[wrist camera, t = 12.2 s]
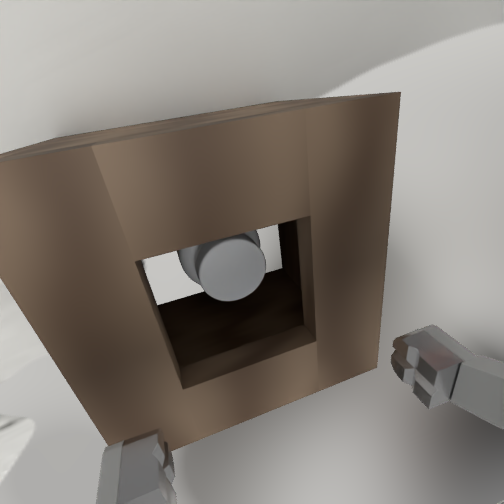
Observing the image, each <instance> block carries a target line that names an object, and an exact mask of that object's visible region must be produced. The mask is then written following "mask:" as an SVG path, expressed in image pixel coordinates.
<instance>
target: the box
mask: <svg viewBox="0 0 504 504" xmlns="http://www.w3.org/2000/svg"><path fill="white" fill-rule="evenodd" d="M400 96H401V92H392V93H379V94H368V95H367V94H366V95H354V96H340V97H327V98H314V99H301V100H289V101H276V102H270V103H264V104H258V105H252V106H246V107H240V108H234V109H228V110H222V111H216V112H210V113H204V114H198V115H192V116H186V117H180V118H174V119H168V120H162V121H156V122H150V123H144V124H138V125H132V126H126V127H119V128H113V129H107V130H101V131H95V132H89V133H83V134H77V135H71V136H65V137H59V138H54V139H50V140H47V141H44V142H40V143H37V144H33V145H30V146H26V147H23V148H20V149H16V150H13V151H9V152H6V153H3V154H0V278H1V280H2V281H3V283H4V284H5V286H6V287H7V289H8V290H9V292H10V294H11V295H12V297H13V298H14V300H15V301H16V303H17V304H18V306H19V308H20V309H21V311H22V312H23V314H24V315H25V317H26V318H27V320H28V322H29V323H30V325H31V326H32V328H33V329H34V331H35V332H36V334H37V336H38V337H39V339H40V340H41V342H42V343H43V345H44V346H45V348H46V350H47V351H48V353H49V354H50V356H51V357H52V359H53V360H54V362H55V363H56V365H57V367H58V368H59V370H60V371H61V373H62V375H63V376H64V378H65V379H66V381H67V382H68V384H69V385H70V387H71V389H72V390H73V392H74V393H75V394H76V396H77V398H78V399H79V401H80V403H81V404H82V405H83V407H84V409H85V410H86V412H87V413H88V415H89V417H90V418H91V420H92V421H93V423H94V424H95V426H96V427H97V429H98V431H99V432H100V434H101V435H102V437H103V438H104V440H105V441H106V443H107V444H108V446H110V445H113V444H115V443H118V442H121V441H123V440H127V439H130V438H132V437H135V436H138V435H141V434H143V433H146V432H149V431H152V430H155V429H157V428H161V430H162V432H163V434H164V441H165V442H168V444H169V446H170V449H171V451H173V450H175V449H178V448H180V447H183V446H185V445H188V444H190V443H193V442H195V441H198V440H200V439H202V438H205V437H207V436H210V435H212V434H215V433H217V432H220V431H222V430H225V429H227V428H230V427H232V426H234V425H237V424H239V423H242V422H244V421H247V420H249V419H252V418H254V417H257V416H259V415H262V414H264V413H266V412H269V411H271V410H274V409H276V408H279V407H281V406H283V405H286V404H289V403H291V402H293V401H296V400H298V399H301V398H303V397H305V396H308V395H311V394H313V393H316V392H318V391H321V390H323V389H325V388H328V387H330V386H333V385H335V384H338V383H340V382H342V381H345V380H347V379H350V378H353V377H355V376H357V375H360V374H362V373H365V372H367V371H370V370H372V369H374V368H377V362H378V350H379V338H380V327H381V315H382V303H383V292H384V281H385V269H386V257H387V246H388V235H389V223H390V212H391V200H392V188H393V177H394V165H395V154H396V142H397V130H398V119H399V108H400ZM276 224H278V230H279V238H280V239H279V240H280V249H281V258H282V268H281V269H278V270H275V271H271V272H268V273H265V274H264V277H263V279H262V281H261V283H260V284H259V286H258V287H257V288H256V289H255V290H254V291H253V292H252V293H250V294H249V295H247V296H246V297H244V298H241V299H238V300H234V301H221V300H218V299H215V298H213V297H211V296H209V295H208V294H207V293H206V292H205V291H204V292H201V293H197V294H194V295H191V296H187V297H184V298H181V299H177V300H174V301H171V302H168V303H164V304H160V305H157V303H156V301H155V298H154V295H153V292H152V290H151V287H150V284H149V281H148V279H147V276H146V273H145V270H144V268H143V265H142V262H141V260H143V259H146V258H150V257H154V256H158V255H162V254H165V253H169V252H173V251H177V250H181V249H185V248H188V247H192V246H196V245H200V244H204V243H207V242H211V241H215V240H219V239H223V238H226V237H230V236H234V235H238V234H242V233H246V232H249V231H253V230H257V229H261V228H265V227H268V226H272V225H276Z"/></svg>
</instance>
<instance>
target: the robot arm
mask: <svg viewBox="0 0 504 504" xmlns="http://www.w3.org/2000/svg"><path fill="white" fill-rule="evenodd" d="M393 347H394V348H395V349H396V350H395V351H394V353H393V354H392V355H391V364H392V367H393V370H394V371H395V373H396V374H397V376H398V377H399V378H400V379H401V380H402V381H403V382H405V383H407V384H409V385H411V386H412V390H413V393H414V394H415V395H416V396H417V398H419V400H420V401H421V402H422V403H423V404H424V405H425V406H426V407H427V408H428V409H431V408H433V407H435V406H438V405H440V404H443V403H445V402H448V401H450V400H451V401H450V402H451V403H453V404H455V405H457V406H459V407H461V408H462V409H465V410H466V411H468V412H470V413H472V414H474V415H476V416H478V417H480V418H482V419H483V420H485V421H487V422H489V423H491V424H493V425H495V426H497V427H499V428H501V429H503V430H504V362H502V361H499V360H495V359H492V358H489V357H486V356H483V355H479V356H477V355H475V354H474V353H472V352H471V351H470V350H468V349H467V348H466V347H464V346H463V345H462V344H460V343H459V342H458V341H456V340H455V339H454V338H452V337H451V336H450V335H448V334H447V333H446V332H444V331H443V330H442V329H440V328H439V327H438V326H435V325H429V326H426V327H424V328H422V329H419V330H415V331H413V332H410V333H408V334H405V335H403V336H400V337H397V338H396V339H395V340H394V341H393ZM174 477H175V471H174V462H173V457H172V452H171V449H170V446H169V444H168V442H165V441H164V434H163V432H162V430H161V428H157V429H155V430H152V431H149V432H146V433H143V434H141V435H138V436H135V437H132V438H130V439H127V440H123V441H121V442H118V443H115V444H113V445H110V446H107V447H106V448H105V450H104V453H103V455H102V463H101V470H100V477H99V485H98V492H97V500H96V504H177V499H176V492H175V490H174V489H173V487H172V482H173V480H174ZM497 504H504V500H503V501H501V502H499V503H497Z"/></svg>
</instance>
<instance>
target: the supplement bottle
mask: <svg viewBox="0 0 504 504" xmlns="http://www.w3.org/2000/svg"><path fill="white" fill-rule="evenodd" d="M177 253H178V257H179V260H180V263H181V265H182V268H183V270H184V271H185V273H186V274H187V275H188V276H189V277H190V278H191V279H192V280H193V281H194V282H196V283H198V284H200V285H201V286H202V288H203V289H204V291H205V292H206V293H207V294H208V295H209V296H211V297H213V298H215V299H218V300H221V301H234V300H238V299H241V298H244V297H246V296H247V295H249V294H250V293H252V292H253V291H254V290H255V289H256V288H257V287H258V286H259V284H260V283H261V281H262V279H263V277H264V274H265V270H266V261H265V257H264V254H263V252H262V251H261V249H260V240H259V236H258V233H257V231H256V230H253V231H249V232H246V233H242V234H238V235H234V236H230V237H226V238H223V239H219V240H215V241H211V242H207V243H204V244H200V245H196V246H192V247H188V248H185V249H181V250H177Z"/></svg>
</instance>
